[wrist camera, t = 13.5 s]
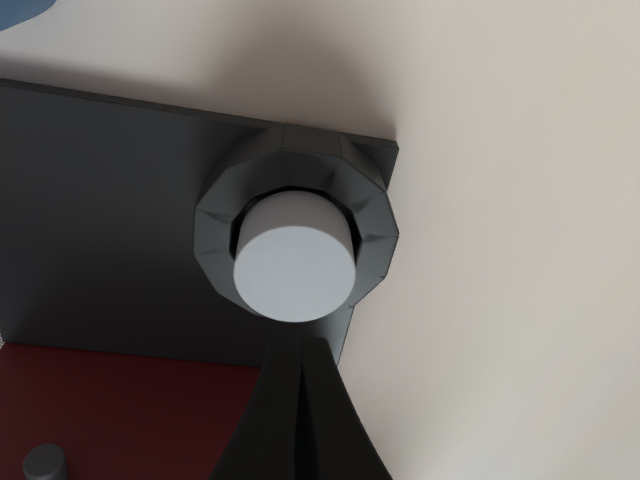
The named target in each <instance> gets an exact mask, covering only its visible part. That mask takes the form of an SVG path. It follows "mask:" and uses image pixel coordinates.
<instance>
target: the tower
mask: <svg viewBox="0 0 640 480" xmlns="http://www.w3.org/2000/svg"><path fill="white" fill-rule="evenodd" d="M261 368H262V367H254V366H244V365H234V364H224V363H213V362H203V361H193V360H183V359H173V358H162V357H152V356H142V355H132V354H122V353H111V352H101V351H91V350H81V349H71V348H60V347H50V346H40V345H30V344H20V343H9V342H5V343H4V345H3V346H2V348H1V349H0V480H207V479H208V477H209V475H210V474H211V472H212V470H213V469H214V467H215V465H216V464H217V462H218V460H219V458H220V457H221V455H222V453H223V451H224V449H225V448H226V446H227V444H228V442H229V440H230V438H231V436H232V434H233V432H234V430H235V428H236V426H237V424H238V422H239V420H240V418H241V416H242V414H243V412H244V410H245V408H246V406H247V404H248V401H249V399H250V396H251V394H252V392H253V389H254V387H255V384H256V382H257V379H258V377H259V374H260V371H261Z"/></svg>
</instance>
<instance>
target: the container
mask: <svg viewBox="0 0 640 480" xmlns="http://www.w3.org/2000/svg"><path fill="white" fill-rule="evenodd" d="M55 1H56V0H0V31H3V30H5V29H7V28H10V27H12V26H14V25H17V24H19V23H21V22H24V21H26V20H28V19H31V18H33V17H35V16H37V15H39V14H41V13H43V12H44V11H46V10H47V9H48V8H49V7H51V6H52V5H53V4H54V3H55Z"/></svg>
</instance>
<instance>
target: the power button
mask: <svg viewBox="0 0 640 480" xmlns="http://www.w3.org/2000/svg"><path fill="white" fill-rule="evenodd" d="M233 277H234V283H235V286H236V289H237V291H238V293H239V294H240V296H241V297H242V299H243V300H244V301H245V302H246V303H247V304H248V305H249V306H250V307H251V308H252V309H254V310H255V311H257V312H258V313H260V314H262V315H264V316H266V317H269V318H272V319H275V320H279V321H285V322H304V321H310V320H314V319H318V318H320V317H323V316H325V315H327V314H329V313H331V312H333V311H334V310H336V309H337V308H338V307H339V306H341V305H342V304H343V303H344V302H345V300H346V299H347V298H348V296H349V295H350V293H351V291H352V289H353V286H354V284H355V279H356V268H355V261H354V254H353V247H352V241H351V234H350V228H349V225H348V222H347V220H346V218H345V216H344V215H343V213H342V212H341V211H340V210H339V208H338V207H337V206H335V205H334V204H333V203H332V202H330V201H329V200H327V199H326V198H324V197H322V196H320V195H317V194H314V193H311V192H306V191H284V192H279V193H276V194H273V195H270V196H268V197H266V198H264V199H262V200H261V201H259V202H258V203H257V204H255V205H254V206H253V207H252V208H251V209H250V211H249V212H248V213H247V215H246V216H245V218H244V220H243V222H242V225H241V229H240V235H239V240H238V246H237V251H236V257H235V262H234V267H233Z"/></svg>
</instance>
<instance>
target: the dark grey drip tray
mask: <svg viewBox="0 0 640 480" xmlns="http://www.w3.org/2000/svg"><path fill="white" fill-rule="evenodd" d="M398 151H399V147H398V144H397V142H396V141H391V140H384V139H378V138H372V137H366V136H359V135H353V134H347V133H340V132H336V131H330V130H324V129H318V128H312V127H305V126H299V125H293V124H284V123H277V122H271V121H265V120H259V119H252V118H246V117H240V116H233V115H227V114H221V113H215V112H208V111H202V110H196V109H189V108H183V107H177V106H170V105H164V104H158V103H152V102H145V101H139V100H133V99H126V98H120V97H114V96H108V95H101V94H95V93H89V92H82V91H76V90H70V89H63V88H57V87H51V86H45V85H38V84H32V83H26V82H19V81H13V80H7V79H0V332H1V336H2V341H3V342H9V343H20V344H30V345H40V346H50V347H60V348H71V349H81V350H91V351H101V352H111V353H122V354H132V355H142V356H152V357H162V358H173V359H183V360H193V361H203V362H213V363H224V364H234V365H244V366H254V367H262V365H263V361H264V358H265V353H266V347H267V341H268V336H269V335H270V334H272V333H283V334H292V335H302V336H312V337H321V338H326V339H327V341H328V342H329V344H330V348H331V351H332V354H333V357H334V360H335V363H336V366H338V363H339V359H340V356H341V352H342V349H343V345H344V341H345V338H346V334H347V331H348V327H349V324H350V320H351V317H352V313H353V310H354V306H355V305H356V304H357V303H358V302H359V301H360V300H361V299H362V298H363V297H365V296H366V295H367V294H368V293H369V292H370V291H371V290H373V289H374V288H375V287H376V286H377V285H378V284H379V283H380V282H382V281H383V280H384V279H385V277H386V276H387V273H388V270H389V267H390V263H391V260H392V257H393V254H394V251H395V247H396V244H397V241H398V238H399V230H398V227H397V224H396V220H395V217H394V214H393V210H392V207H391V204H390V201H389V198H388V194H387V190H388V186H389V183H390V179H391V176H392V172H393V168H394V165H395V161H396V158H397V154H398ZM284 191H306V192H311V193H314V194H317V195H320V196H322V197H324V198H326V199H327V200H329V201H330V202H332V203H333V204H334V205H335V206H337V207H338V208H339V210H340V211H341V212H342V213H343V215H344V216H345V218H346V220H347V222H348V225H349V228H350V234H351V241H352V247H353V254H354V261H355V268H356V279H355V284H354V286H353V289H352V291H351V293H350V295H349V296H348V298H347V299H346V300H345V302H344V303H343V304H342V305H341V306H339V307H338V308H337V309H336V310H334V311H333V312H331V313H329V314H327V315H325V316H323V317H320V318H318V319H314V320H310V321H304V322H285V321H279V320H275V319H272V318H269V317H266V316H264V315H262V314H260V313H258V312H257V311H255V310H254V309H252V308H251V307H250V306H249V305H248V304H247V303H246V302H245V301H244V300H243V299H242V297H241V296H240V294H239V293H238V291H237V289H236V286H235V283H234V277H233V267H234V262H235V257H236V251H237V246H238V240H239V235H240V229H241V225H242V222H243V220H244V218H245V216H246V215H247V213H248V212H249V211H250V209H251V208H252V207H253V206H254V205H255V204H257V203H258V202H259V201H261V200H262V199H264V198H266V197H268V196H270V195H273V194H276V193H279V192H284Z"/></svg>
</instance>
